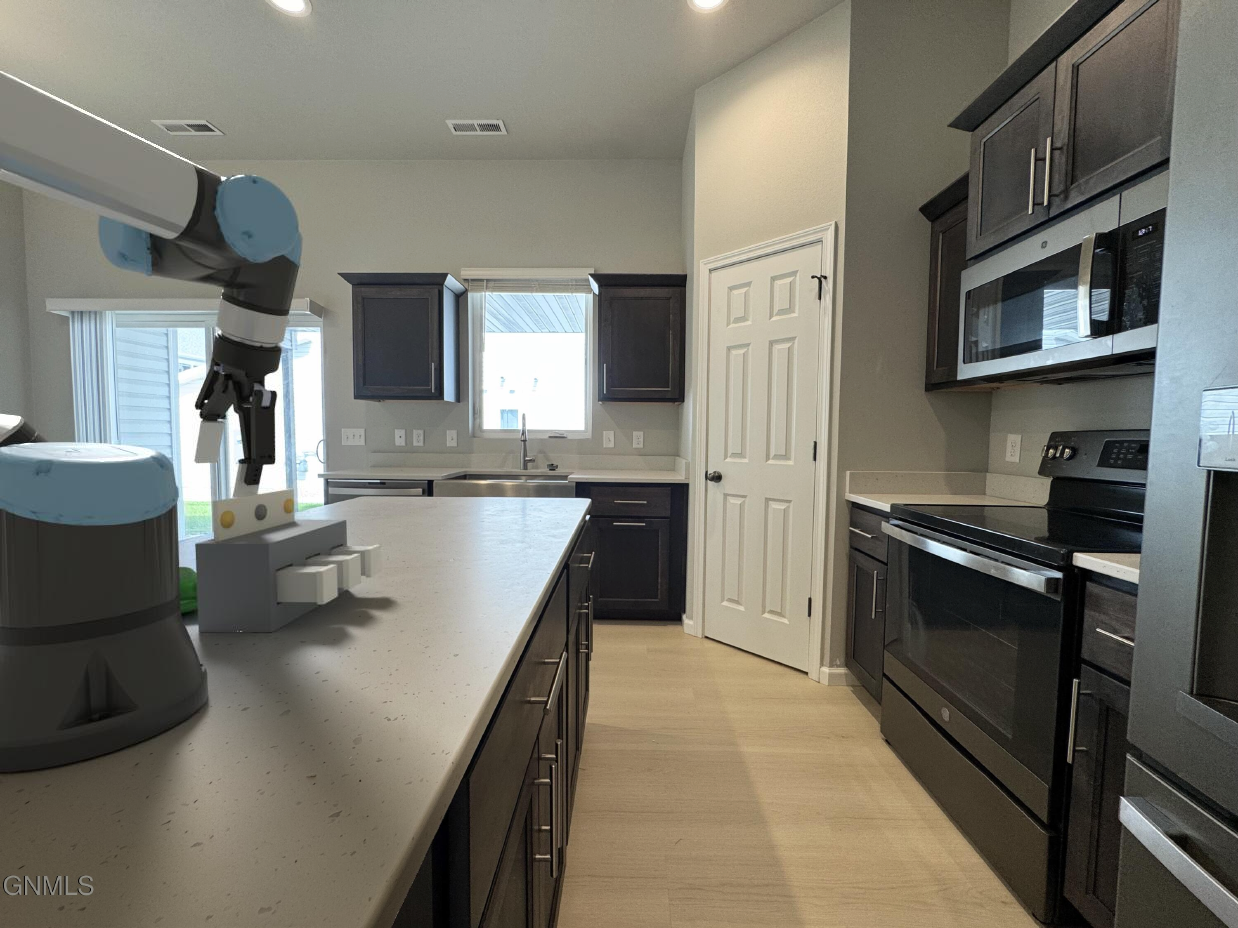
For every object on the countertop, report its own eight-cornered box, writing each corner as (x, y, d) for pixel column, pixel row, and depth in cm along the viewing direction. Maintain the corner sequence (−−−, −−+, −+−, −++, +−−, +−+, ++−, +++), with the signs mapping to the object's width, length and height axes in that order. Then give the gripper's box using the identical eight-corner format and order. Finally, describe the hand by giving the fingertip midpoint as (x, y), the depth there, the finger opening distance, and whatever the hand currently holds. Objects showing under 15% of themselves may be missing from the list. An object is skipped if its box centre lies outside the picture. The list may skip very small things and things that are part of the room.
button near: (323, 604, 69) (322, 570, 69) (261, 603, 70) (260, 570, 69) (337, 596, 73) (336, 564, 73) (278, 595, 73) (277, 564, 73)
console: (271, 632, 68) (268, 543, 68) (198, 632, 68) (195, 543, 68) (348, 589, 87) (346, 519, 87) (290, 589, 87) (288, 519, 87)
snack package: (140, 631, 69) (139, 590, 69) (131, 603, 80) (130, 567, 80) (211, 618, 74) (210, 580, 74) (192, 593, 85) (191, 560, 85)
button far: (370, 577, 82) (370, 549, 82) (318, 577, 82) (317, 549, 82) (380, 571, 86) (380, 544, 86) (330, 571, 86) (329, 544, 86)
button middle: (349, 589, 76) (348, 559, 76) (292, 589, 76) (291, 558, 76) (361, 582, 79) (360, 553, 79) (306, 582, 79) (305, 553, 79)
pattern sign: (220, 541, 69) (219, 501, 69) (214, 541, 69) (212, 501, 69) (296, 521, 85) (295, 488, 85) (290, 521, 85) (289, 488, 85)
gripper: (325, 373, 71) (292, 519, 77) (241, 313, 83) (218, 444, 89) (262, 367, 65) (231, 527, 71) (180, 303, 76) (160, 445, 82)
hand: (224, 481), depth 80 cm, fingers open, 12 cm apart
